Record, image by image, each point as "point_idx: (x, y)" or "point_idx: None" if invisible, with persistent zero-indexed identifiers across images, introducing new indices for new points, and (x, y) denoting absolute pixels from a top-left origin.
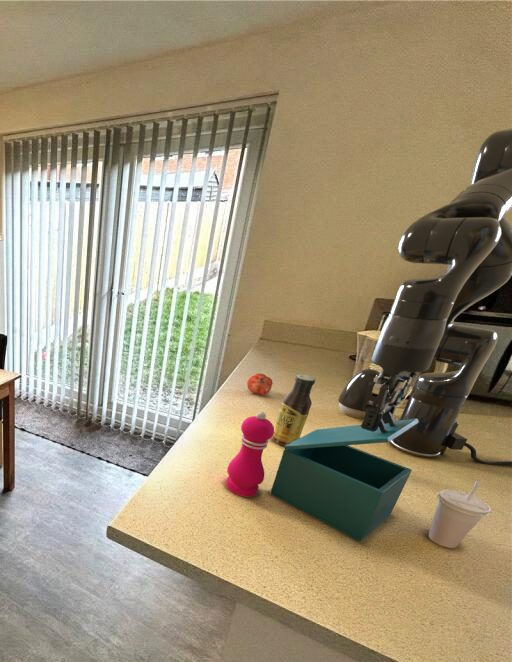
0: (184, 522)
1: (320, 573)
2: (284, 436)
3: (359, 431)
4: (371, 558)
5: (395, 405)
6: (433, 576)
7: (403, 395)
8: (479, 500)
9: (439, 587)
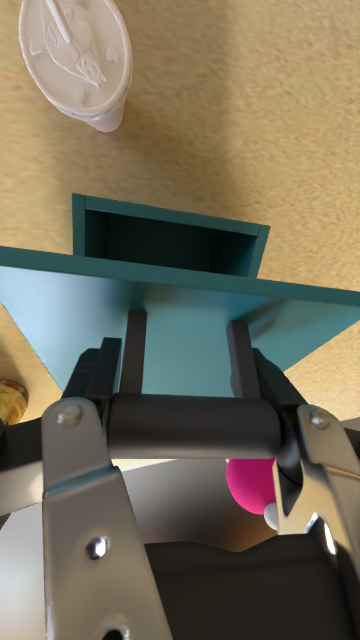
0: (338, 377)
1: (335, 240)
2: (19, 407)
3: (163, 365)
4: (255, 197)
5: (90, 406)
6: (233, 110)
7: (118, 493)
8: (30, 3)
9: (257, 99)
